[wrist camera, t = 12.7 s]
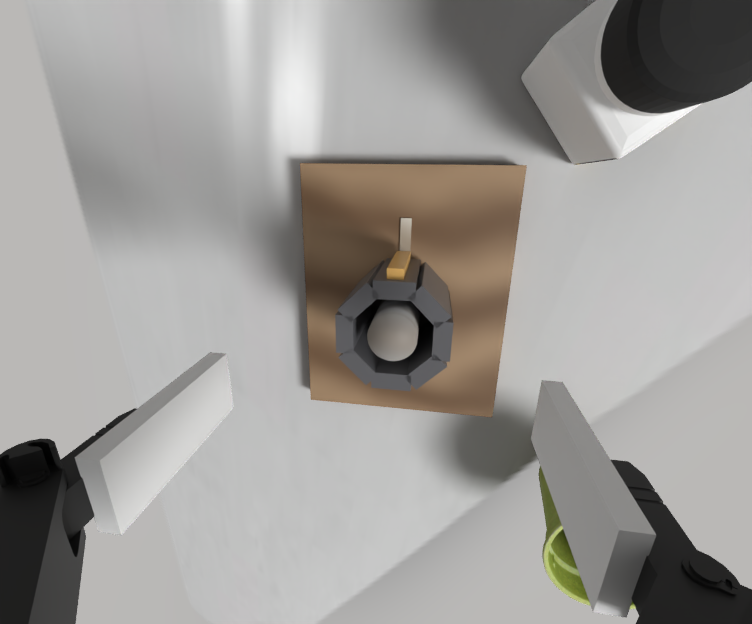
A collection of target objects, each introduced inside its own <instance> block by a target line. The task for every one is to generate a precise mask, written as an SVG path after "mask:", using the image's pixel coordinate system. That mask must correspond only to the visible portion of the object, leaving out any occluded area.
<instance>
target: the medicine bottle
mask: <svg viewBox="0 0 752 624" xmlns="http://www.w3.org/2000/svg"><path fill="white" fill-rule="evenodd" d="M521 79H522V82H523V83H524V85H525V87H526V88H527V90H528V92H529V93H530V95H531V97H532V98H533V100H534V102H535V103H536V105H537V107H538V108H539V110H540V111H541V113H542V115H543V116H544V118H545V120H546V121H547V123H548V125H549V126H550V128H551V130H552V131H553V133H554V135H555V136H556V138H557V140H558V141H559V143H560V144H561V146H562V148H563V149H564V151H565V153H566V154H567V156H568V158H569V159H570V161H571V163H573V164H575V165H577V164H585V163H592V162H599V161H606V160H613V159H619V158H622V157H623V156H625V155H626V154H628V153H629V152H631V151H632V150H634V149H635V148H637V147H638V146H640V145H641V144H643V143H644V142H646V141H647V140H649V139H650V138H652V137H653V136H655V135H656V134H658V133H659V132H660V131H662V130H663V129H665V128H666V127H668V126H669V125H671V124H672V123H674V122H675V121H677V120H678V119H680V118H681V117H683V116H684V115H686V114H687V113H689V112H690V111H692V110H693V109H695V108H696V107H698V106H699V105H701V104H702V103H704V102H708V101H711V100H714V99H718V98H721V97H723V96H726V95H728V94H731V93H733V92H735V91H737V90H739V89H740V88H742V87H744V86H746V85H747V84H749V83H750V82H752V0H595V1H594V2H593V3H592V4H590V5H589V6H588V7H587V8H586V9H584V10H583V11H582V12H581V13H580V14H578V15H577V16H576V17H575V18H574V19H572V20H571V21H570V22H569V23H567V24H566V25H565V26H564V27H563V28H561V29H560V30H559V31H558V32H557V33H555V34H554V35H553V36H552V37H551V38H550V40H549V41H548V42H547V43H546V45H545V46H544V47H543V48H542V50H541V51H540V52H539V54H538V55H537V56H536V57H535V59H534V60H533V61H532V62H531V64H530V65H529V66H528V68H527V69H526V70H525V71H524V73H523V74H522V77H521Z"/></svg>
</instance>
